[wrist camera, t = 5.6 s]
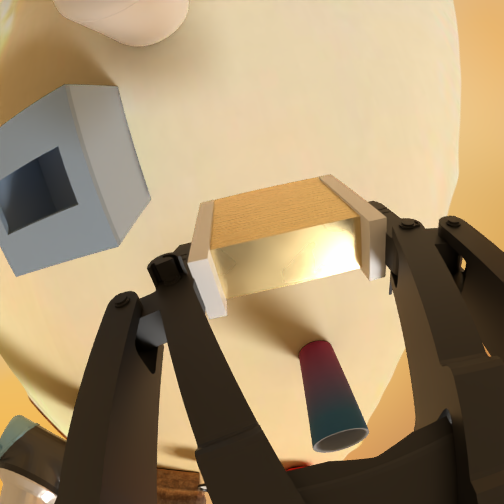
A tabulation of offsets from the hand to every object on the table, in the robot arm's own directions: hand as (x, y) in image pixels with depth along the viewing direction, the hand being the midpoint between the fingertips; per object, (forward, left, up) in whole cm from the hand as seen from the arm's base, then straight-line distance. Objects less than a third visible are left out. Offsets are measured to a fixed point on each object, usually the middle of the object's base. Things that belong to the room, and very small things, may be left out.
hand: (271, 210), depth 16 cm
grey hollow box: (-17, +5, -12) cm, 21 cm away
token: (0, 0, 0) cm, 0 cm away
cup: (+3, -28, -12) cm, 31 cm away
